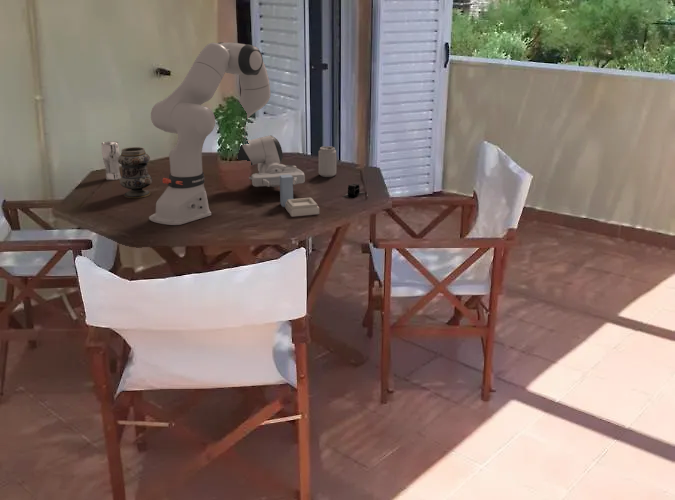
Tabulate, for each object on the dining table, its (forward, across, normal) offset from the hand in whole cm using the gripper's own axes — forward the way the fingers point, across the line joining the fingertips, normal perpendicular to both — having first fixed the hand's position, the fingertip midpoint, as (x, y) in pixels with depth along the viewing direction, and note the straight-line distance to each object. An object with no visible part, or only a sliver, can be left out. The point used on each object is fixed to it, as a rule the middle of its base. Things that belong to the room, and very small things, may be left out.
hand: (282, 183), depth 277 cm
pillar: (+6, 0, +6) cm, 9 cm away
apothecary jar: (-24, -52, +7) cm, 58 cm away
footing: (+16, +4, +6) cm, 17 cm away
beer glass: (-52, -60, +7) cm, 80 cm away
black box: (0, +28, +7) cm, 29 cm away
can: (-31, +26, +6) cm, 41 cm away
